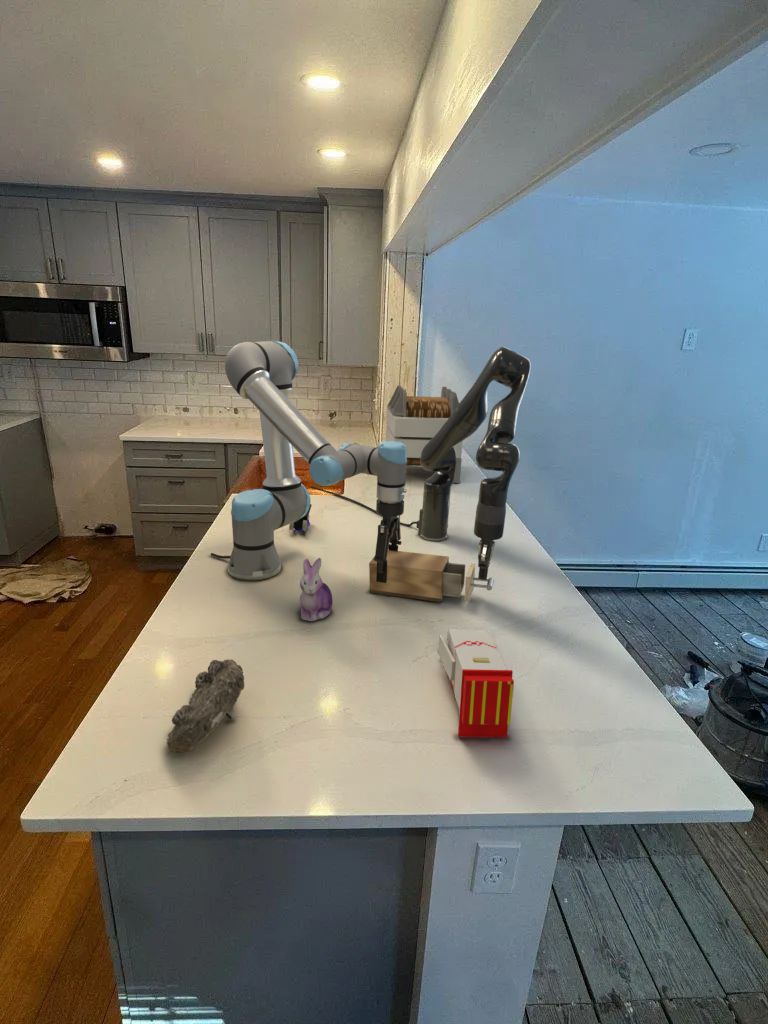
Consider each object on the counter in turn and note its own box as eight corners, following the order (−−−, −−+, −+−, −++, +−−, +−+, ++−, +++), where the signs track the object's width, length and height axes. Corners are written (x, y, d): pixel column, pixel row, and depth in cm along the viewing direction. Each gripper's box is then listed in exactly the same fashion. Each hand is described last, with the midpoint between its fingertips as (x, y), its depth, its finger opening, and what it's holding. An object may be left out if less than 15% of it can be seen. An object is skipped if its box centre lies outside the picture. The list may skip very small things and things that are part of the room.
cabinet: (448, 585, 162) (449, 556, 159) (441, 601, 152) (441, 571, 150) (380, 577, 167) (380, 548, 164) (369, 592, 158) (369, 563, 155)
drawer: (494, 589, 157) (495, 565, 155) (490, 604, 149) (491, 579, 147) (408, 578, 164) (408, 555, 162) (400, 592, 156) (400, 568, 154)
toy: (488, 613, 130) (523, 677, 101) (484, 667, 133) (517, 744, 104) (435, 612, 130) (455, 676, 101) (432, 666, 133) (451, 743, 103)
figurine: (305, 626, 140) (305, 571, 134) (291, 607, 148) (291, 554, 143) (340, 618, 144) (341, 564, 139) (325, 600, 152) (325, 549, 147)
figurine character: (308, 540, 194) (312, 520, 207) (307, 521, 190) (312, 501, 204) (288, 540, 194) (294, 519, 207) (287, 520, 190) (293, 501, 204)
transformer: (382, 463, 289) (386, 382, 275) (445, 464, 293) (451, 384, 279) (390, 482, 257) (394, 392, 243) (460, 483, 261) (468, 394, 247)
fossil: (192, 660, 117) (244, 628, 112) (224, 691, 120) (276, 661, 115) (142, 746, 98) (202, 712, 93) (182, 779, 101) (242, 748, 96)
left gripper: (392, 514, 142) (388, 593, 149) (414, 489, 162) (409, 559, 170) (363, 510, 143) (361, 588, 151) (389, 486, 164) (385, 555, 172)
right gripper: (501, 529, 139) (493, 592, 145) (507, 512, 151) (499, 570, 157) (471, 524, 141) (464, 586, 147) (479, 508, 153) (472, 566, 159)
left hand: (387, 573), depth 160 cm, fingers closed on cabinet, 10 cm apart
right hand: (482, 578), depth 152 cm, fingers closed
